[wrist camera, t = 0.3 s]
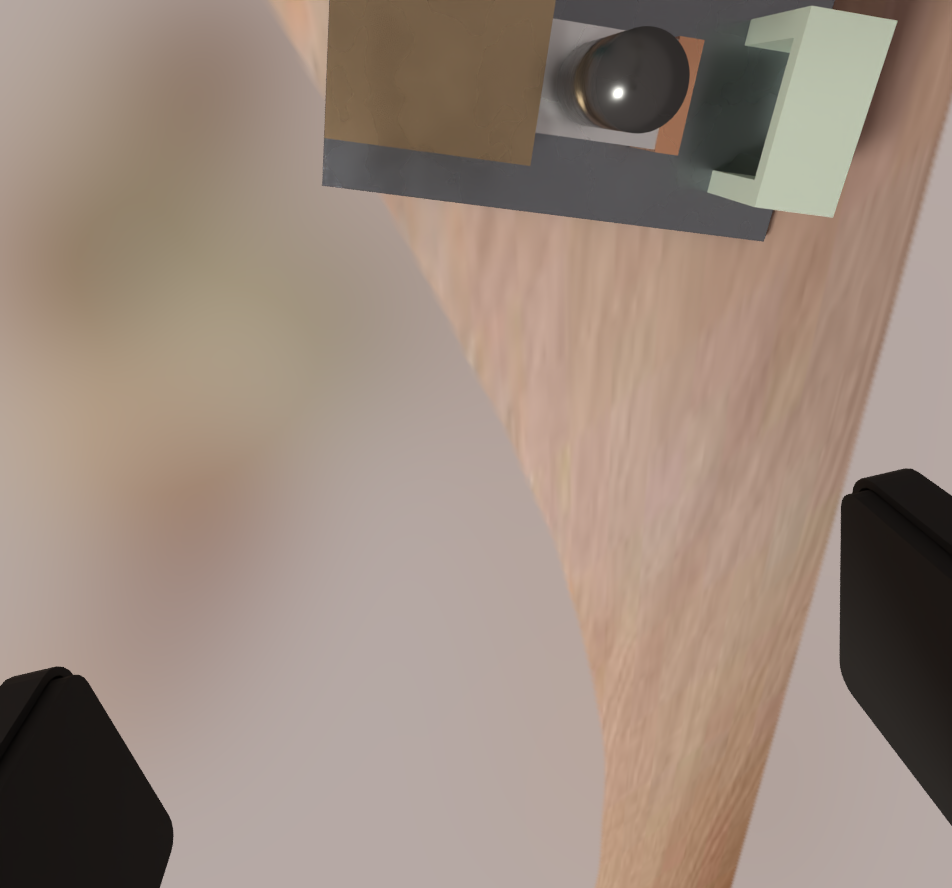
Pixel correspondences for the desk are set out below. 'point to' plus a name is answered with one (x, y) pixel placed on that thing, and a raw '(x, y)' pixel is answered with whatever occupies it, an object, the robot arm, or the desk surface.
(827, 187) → the socket
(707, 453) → the desk surface
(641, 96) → the grey slider block
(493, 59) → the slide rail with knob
